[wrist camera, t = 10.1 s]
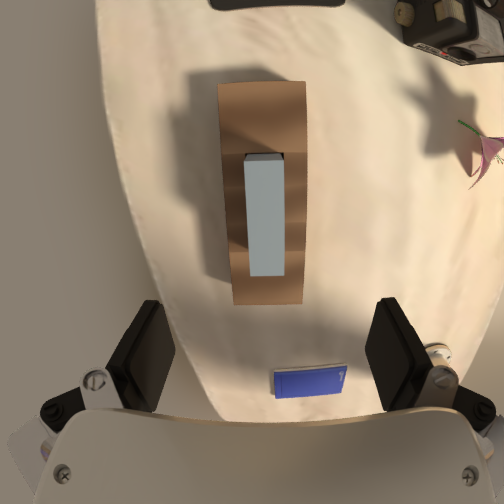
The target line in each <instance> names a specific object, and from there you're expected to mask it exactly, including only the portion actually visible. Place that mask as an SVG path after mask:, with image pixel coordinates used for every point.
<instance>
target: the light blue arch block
mask: <svg viewBox="0 0 504 504" xmlns="http://www.w3.org/2000/svg"><path fill="white" fill-rule="evenodd" d="M244 173H245V191H246V209H247V227H248V245H249V262H250V276H284V258H285V208H284V160H283V158H282V156H281V154H280V153H273V154H248V155H247V157H246V158H245V160H244Z"/></svg>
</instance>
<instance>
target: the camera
mask: <svg viewBox="0 0 504 504" xmlns="http://www.w3.org/2000/svg"><path fill="white" fill-rule="evenodd" d="M394 16H395V20H396V22H397V23H399V24H401V25H402V30H403V40H404V43H405V44H406V45H407V46H410V47H414V48H417V49H420V50H422V51H425V52H428V53H431V54H433V55H436V56H439V57H441V58H444V59H446V60H449V61H451V62H453V63H456V64H458V65H460V66H465V65H473V64H483V63H496V62H504V0H398V3H397V5H396V7H395V11H394Z"/></svg>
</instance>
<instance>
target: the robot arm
mask: <svg viewBox="0 0 504 504" xmlns="http://www.w3.org/2000/svg"><path fill="white" fill-rule="evenodd" d="M365 352H366V356H367V359H368V362H369V365H370V368H371V371H372V374H373V377H374V380H375V384H376V387H377V390H378V394H379V397H380V400H381V404H382V407H383V410H384V411H387V412H385V413H379V414H372V415H365V416H358V417H351V418H342V419H333V420H322V421H307V422H282V423H253V422H229V421H212V420H202V419H193V418H184V417H177V416H169V415H162V414H156V413H152V411H153V412H154V411H155V410H156V408H157V405H158V401H159V399H160V396H161V393H162V390H163V387H164V384H165V381H166V378H167V375H168V372H169V370H170V367H171V364H172V361H173V358H174V355H175V345H174V342H173V338H172V335H171V332H170V328H169V325H168V321H167V318H166V314H165V310H164V307H163V305H162V304H160V303H159V301H157V300H146V301H144V303H143V305H142V306H141V308H140V310H139V311H138V313H137V315H136V316H135V318H134V320H133V321H132V323H131V325H130V326H129V328H128V329H127V330H126V332H125V333H124V335H123V337H122V339H121V340H120V342H119V344H118V346H117V347H116V349H115V351H114V353H113V355H112V357H111V358H110V360H109V362H108V364H107V366H106V367H105V369H104V368H101V367H95V368H91V369H89V370H87V371H86V372H85V373H84V374H83V375H82V377H81V378H80V387H78V388H75V389H73V390H71V391H68V392H66V393H64V394H62V395H59V396H57V397H54V398H52V399H50V400H48V401H46V402H45V403H44V404H43V406H42V408H41V411H40V416H39V417H37V416H34V417H33V418H32V419H31V420H29V421H28V422H26V423H25V424H24V425H23V426H21V427H20V428H19V429H17V430H16V431H15V432H14V433H12V434H11V435H10V437H9V439H8V448H9V451H10V453H11V455H12V457H13V459H14V461H15V463H16V464H17V466H18V468H19V470H20V472H21V473H22V475H23V477H24V479H25V480H26V482H27V483H28V485H29V487H30V488H31V490H32V491H33V493H34V495H35V497H34V501H33V504H498V502H496V501H495V498H496V497H497V495H498V494H499V492H500V491H501V489H502V488H503V486H504V417H503V416H501V415H499V416H497V415H496V408H495V405H494V404H493V402H492V401H491V400H490V399H488V398H486V397H484V396H482V395H480V394H477V393H475V392H473V391H471V390H469V389H467V388H464V387H462V386H460V384H459V383H458V382H459V379H458V375H457V374H456V372H455V371H454V370H453V369H452V368H451V367H450V365H449V363H450V361H451V358H452V354H451V351H450V349H449V348H448V347H447V346H445V345H435V346H431V347H428V348H426V349H425V348H424V346H423V344H422V342H421V340H420V339H419V337H418V335H417V333H416V331H415V329H414V328H413V326H412V325H411V324H410V323H409V321H408V319H407V317H406V316H405V314H404V312H403V310H402V309H401V307H400V305H399V304H398V302H397V300H396V299H395V298H394V297H389V298H382V299H381V301H379V302H377V305H376V309H375V313H374V317H373V321H372V324H371V328H370V332H369V335H368V338H367V342H366V345H365Z"/></svg>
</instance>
